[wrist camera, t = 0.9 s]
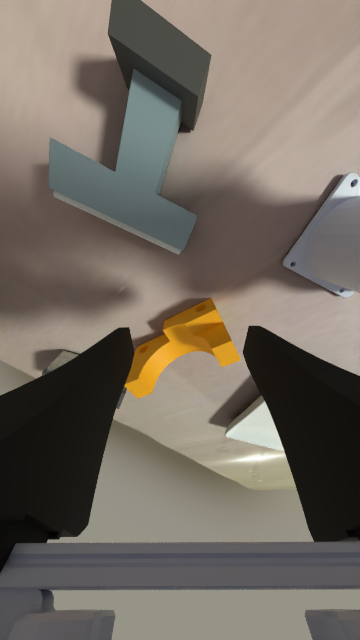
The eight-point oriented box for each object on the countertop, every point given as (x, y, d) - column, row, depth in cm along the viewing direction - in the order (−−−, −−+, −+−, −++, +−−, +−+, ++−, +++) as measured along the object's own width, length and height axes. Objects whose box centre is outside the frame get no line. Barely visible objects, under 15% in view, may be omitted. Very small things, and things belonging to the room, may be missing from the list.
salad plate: (218, 420, 32) (222, 439, 29) (294, 341, 22) (312, 358, 19) (299, 440, 36) (310, 459, 33) (392, 381, 27) (419, 401, 24)
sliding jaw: (232, 123, 12) (251, 85, 9) (180, 251, 16) (181, 256, 13) (94, 27, 10) (54, -66, 7) (76, 202, 14) (48, 194, 11)
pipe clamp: (210, 297, 19) (224, 325, 13) (224, 324, 21) (240, 359, 15) (129, 337, 22) (112, 374, 16) (147, 358, 23) (137, 398, 18)
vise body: (133, 368, 24) (125, 391, 21) (126, 384, 26) (118, 408, 23) (63, 348, 22) (42, 370, 19) (61, 367, 24) (41, 390, 21)
